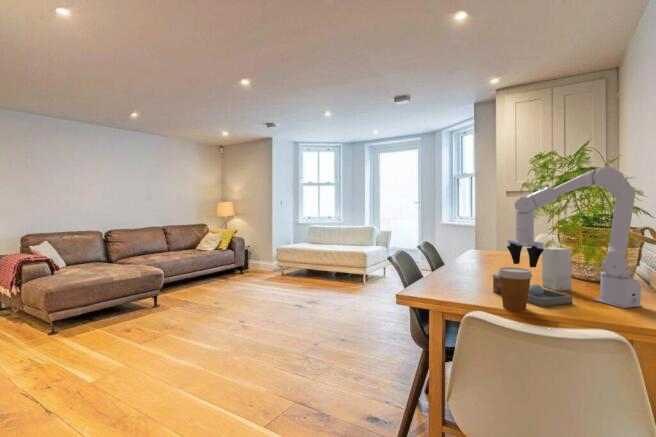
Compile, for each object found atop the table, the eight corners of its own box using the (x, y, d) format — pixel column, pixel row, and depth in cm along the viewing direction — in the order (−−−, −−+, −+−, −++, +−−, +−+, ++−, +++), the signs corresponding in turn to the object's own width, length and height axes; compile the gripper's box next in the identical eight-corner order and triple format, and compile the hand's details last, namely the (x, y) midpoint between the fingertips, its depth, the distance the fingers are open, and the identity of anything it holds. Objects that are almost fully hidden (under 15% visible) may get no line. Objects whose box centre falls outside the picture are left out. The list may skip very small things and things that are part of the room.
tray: (572, 303, 110) (572, 296, 110) (542, 307, 107) (542, 299, 107) (530, 292, 125) (530, 285, 125) (503, 294, 122) (504, 287, 122)
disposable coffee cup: (501, 301, 113) (501, 266, 113) (534, 307, 107) (534, 269, 107) (493, 308, 106) (494, 270, 105) (529, 314, 100) (529, 273, 99)
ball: (547, 298, 115) (546, 285, 115) (537, 299, 113) (536, 286, 113) (535, 294, 119) (535, 282, 119) (525, 296, 118) (525, 283, 117)
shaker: (510, 293, 124) (510, 275, 124) (500, 294, 122) (500, 277, 122) (499, 289, 128) (499, 272, 128) (489, 291, 127) (489, 274, 126)
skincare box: (572, 290, 127) (572, 249, 126) (554, 291, 127) (554, 249, 126) (557, 285, 135) (557, 246, 135) (540, 285, 135) (541, 246, 135)
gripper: (501, 228, 133) (501, 263, 134) (532, 231, 119) (532, 269, 120) (516, 228, 135) (515, 262, 136) (548, 230, 121) (548, 268, 122)
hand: (524, 265), depth 128 cm, fingers open, 7 cm apart
